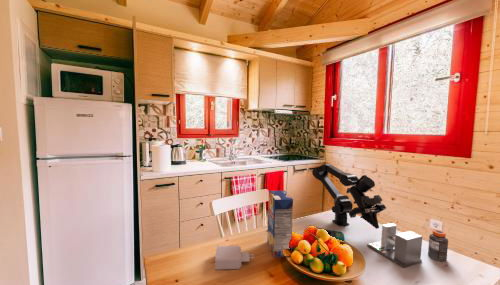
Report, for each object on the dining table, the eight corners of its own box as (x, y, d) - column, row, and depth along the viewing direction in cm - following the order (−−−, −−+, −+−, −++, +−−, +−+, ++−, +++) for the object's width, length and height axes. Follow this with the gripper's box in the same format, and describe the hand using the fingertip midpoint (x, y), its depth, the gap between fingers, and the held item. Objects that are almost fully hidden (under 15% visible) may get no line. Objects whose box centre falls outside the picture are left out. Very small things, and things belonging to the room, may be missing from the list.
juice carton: (267, 241, 100) (268, 190, 98) (283, 240, 101) (284, 190, 99) (273, 257, 88) (275, 199, 86) (291, 256, 89) (293, 199, 87)
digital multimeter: (311, 231, 111) (312, 226, 111) (343, 236, 107) (343, 231, 107) (311, 238, 105) (311, 232, 104) (344, 244, 100) (345, 238, 100)
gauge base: (367, 245, 98) (368, 222, 97) (384, 241, 102) (386, 219, 101) (403, 267, 83) (405, 240, 82) (421, 261, 87) (424, 235, 86)
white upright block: (376, 248, 94) (378, 225, 93) (390, 244, 97) (392, 223, 96) (387, 254, 89) (389, 231, 88) (401, 250, 92) (403, 228, 91)
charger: (255, 269, 81) (215, 271, 80) (253, 254, 90) (216, 256, 89) (255, 257, 80) (215, 258, 79) (253, 244, 90) (216, 244, 88)
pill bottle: (443, 255, 92) (445, 229, 91) (449, 263, 87) (451, 236, 86) (425, 251, 94) (428, 226, 94) (430, 259, 89) (432, 232, 88)
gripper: (355, 191, 100) (375, 224, 90) (384, 187, 106) (405, 218, 97) (341, 201, 107) (358, 233, 98) (369, 198, 114) (387, 227, 105)
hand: (377, 228), depth 99 cm, fingers closed
